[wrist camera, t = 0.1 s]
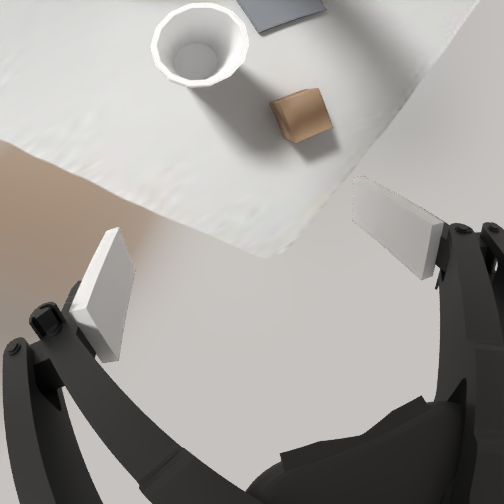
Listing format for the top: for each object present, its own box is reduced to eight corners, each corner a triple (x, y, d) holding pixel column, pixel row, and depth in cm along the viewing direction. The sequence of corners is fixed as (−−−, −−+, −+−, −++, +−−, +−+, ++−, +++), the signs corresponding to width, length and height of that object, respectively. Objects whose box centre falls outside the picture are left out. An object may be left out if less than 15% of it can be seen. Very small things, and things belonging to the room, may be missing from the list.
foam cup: (240, 48, 33) (264, 25, 22) (211, 103, 36) (223, 100, 25) (179, 24, 29) (178, -9, 18) (150, 80, 32) (134, 67, 21)
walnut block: (269, 102, 38) (279, 102, 33) (304, 89, 38) (318, 88, 33) (284, 138, 41) (296, 142, 37) (318, 124, 41) (333, 127, 36)
